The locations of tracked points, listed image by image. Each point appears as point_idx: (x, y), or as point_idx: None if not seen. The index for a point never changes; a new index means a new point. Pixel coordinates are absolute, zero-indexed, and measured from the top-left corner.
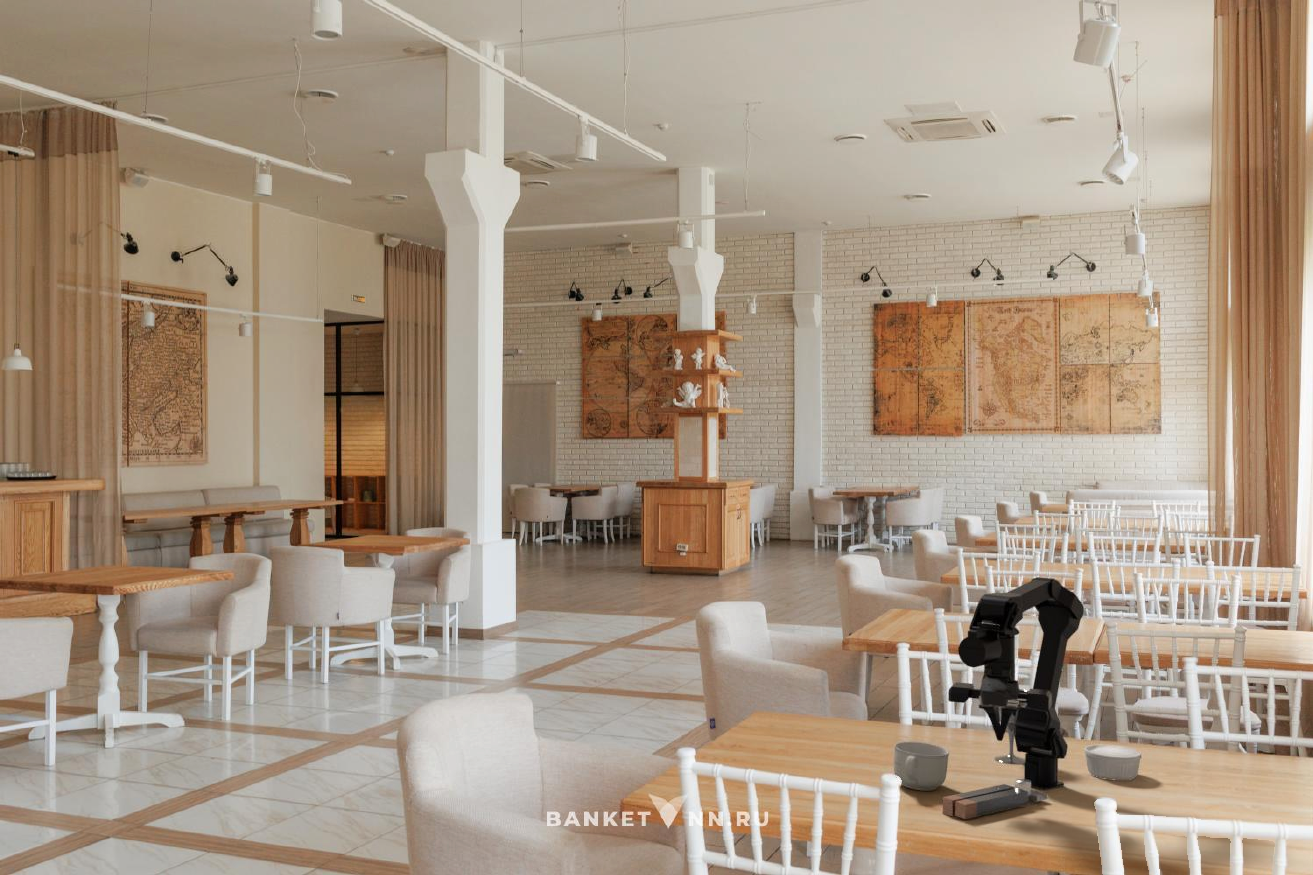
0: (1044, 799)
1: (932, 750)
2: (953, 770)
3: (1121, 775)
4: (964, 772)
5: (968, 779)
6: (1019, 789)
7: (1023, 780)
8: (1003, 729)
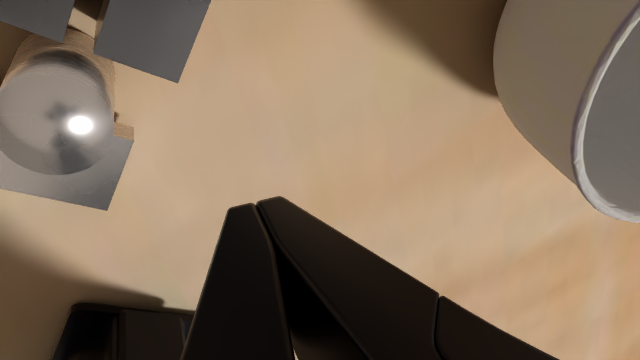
0: None
1: (626, 193)
2: (458, 288)
3: None
4: None
5: (396, 233)
6: (31, 14)
7: (57, 140)
8: (220, 303)
